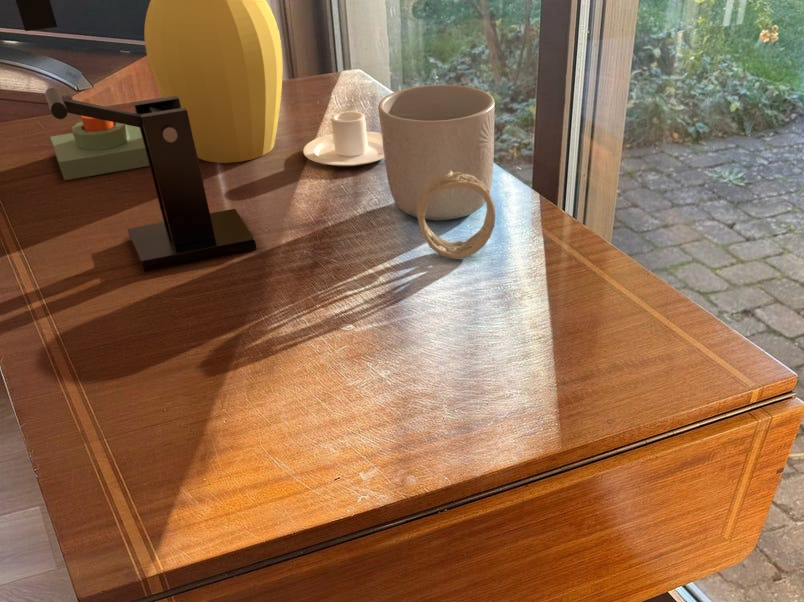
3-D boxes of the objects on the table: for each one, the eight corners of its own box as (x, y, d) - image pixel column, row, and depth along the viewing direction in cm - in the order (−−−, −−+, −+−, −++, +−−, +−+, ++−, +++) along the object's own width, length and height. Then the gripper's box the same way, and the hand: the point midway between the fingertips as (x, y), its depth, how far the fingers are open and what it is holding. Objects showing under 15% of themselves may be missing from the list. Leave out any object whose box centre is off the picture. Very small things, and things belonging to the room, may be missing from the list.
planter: (393, 234, 107) (383, 126, 99) (383, 191, 116) (373, 88, 108) (504, 223, 108) (503, 116, 100) (486, 181, 117) (484, 80, 109)
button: (86, 135, 121) (82, 120, 120) (83, 126, 124) (78, 111, 122) (116, 131, 122) (112, 115, 121) (112, 122, 125) (107, 107, 123)
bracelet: (497, 258, 102) (496, 178, 96) (421, 263, 102) (415, 184, 96) (493, 241, 105) (491, 163, 99) (419, 247, 104) (413, 169, 99)
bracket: (144, 272, 102) (104, 130, 92) (130, 239, 108) (91, 102, 98) (257, 249, 105) (230, 109, 95) (237, 219, 111) (210, 84, 101)
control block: (64, 180, 121) (53, 146, 118) (55, 154, 127) (44, 121, 124) (162, 163, 124) (154, 129, 121) (148, 139, 130) (140, 106, 127)
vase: (178, 179, 120) (111, -105, 100) (164, 137, 131) (101, -127, 111) (308, 160, 123) (267, -119, 103) (283, 120, 134) (243, -139, 114)
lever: (50, 123, 92) (51, 95, 90) (44, 107, 95) (45, 80, 94) (182, 149, 98) (185, 123, 96) (172, 133, 101) (175, 108, 100)
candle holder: (372, 176, 119) (369, 138, 116) (286, 165, 122) (280, 128, 119) (413, 142, 127) (411, 106, 124) (331, 133, 130) (327, 97, 127)
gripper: (-2, -314, 67) (92, 38, 82) (-18, -317, 84) (64, -23, 99) (-120, -309, 65) (-1, 50, 81) (-112, -313, 82) (-15, -14, 97)
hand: (35, 10), depth 90 cm, fingers open, 13 cm apart
